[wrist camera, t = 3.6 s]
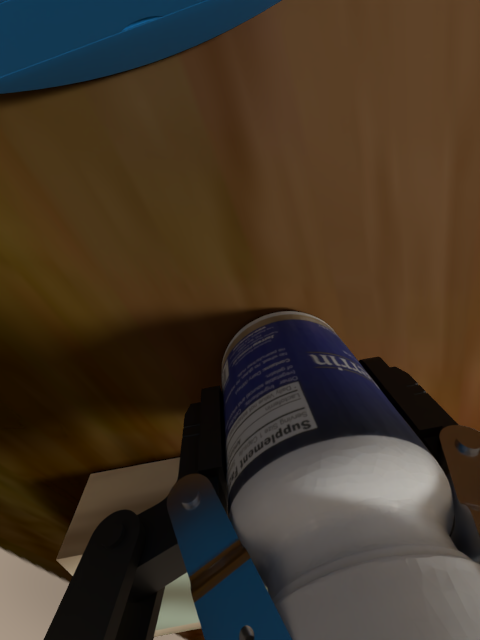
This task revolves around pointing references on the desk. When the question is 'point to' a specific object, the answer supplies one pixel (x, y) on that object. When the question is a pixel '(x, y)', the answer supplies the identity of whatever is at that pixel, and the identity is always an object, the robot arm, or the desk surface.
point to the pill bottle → (338, 493)
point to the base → (136, 495)
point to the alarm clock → (104, 36)
